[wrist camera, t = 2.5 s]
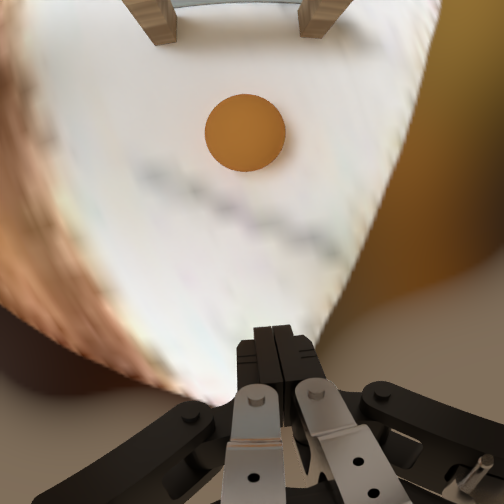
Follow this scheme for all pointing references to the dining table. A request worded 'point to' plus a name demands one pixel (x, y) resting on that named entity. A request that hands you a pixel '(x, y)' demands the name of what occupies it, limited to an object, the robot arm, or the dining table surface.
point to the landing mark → (193, 0)
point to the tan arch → (165, 19)
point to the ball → (245, 132)
